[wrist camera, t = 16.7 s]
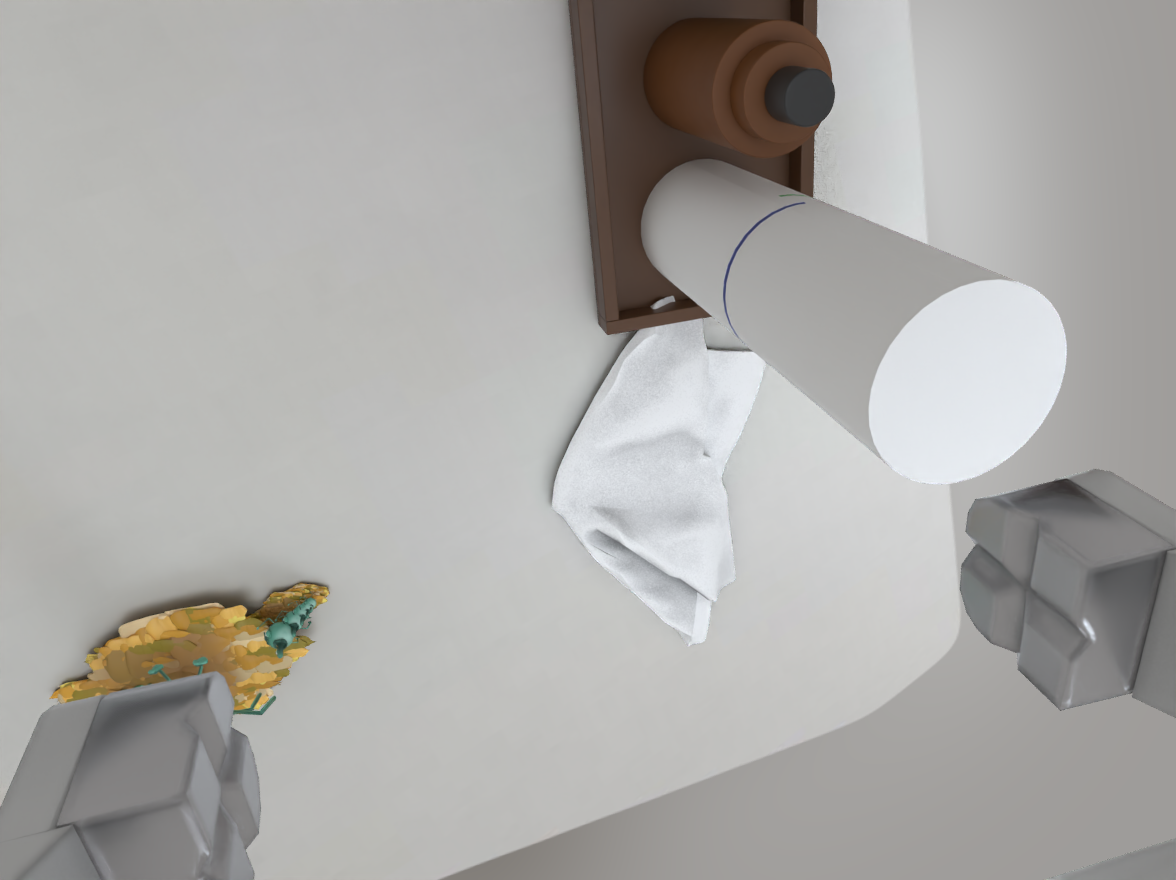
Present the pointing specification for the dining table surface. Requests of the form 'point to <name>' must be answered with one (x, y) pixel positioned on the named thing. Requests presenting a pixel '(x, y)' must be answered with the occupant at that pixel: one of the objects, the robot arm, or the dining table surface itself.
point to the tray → (650, 145)
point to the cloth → (661, 470)
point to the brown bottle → (740, 82)
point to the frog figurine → (206, 649)
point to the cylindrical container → (863, 319)
